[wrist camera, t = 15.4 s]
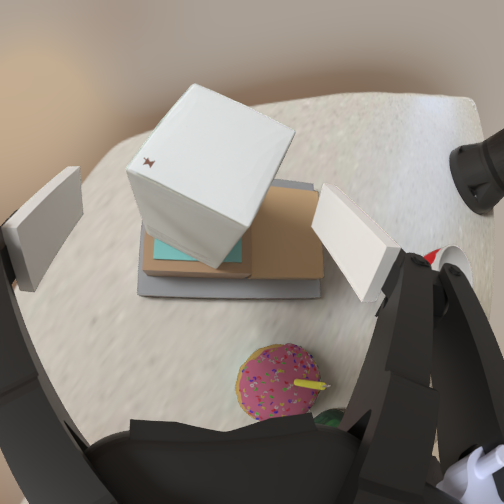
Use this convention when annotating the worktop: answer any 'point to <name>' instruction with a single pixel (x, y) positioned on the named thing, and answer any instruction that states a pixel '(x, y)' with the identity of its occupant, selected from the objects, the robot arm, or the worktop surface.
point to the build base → (227, 284)
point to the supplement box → (206, 173)
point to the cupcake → (278, 382)
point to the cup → (450, 260)
